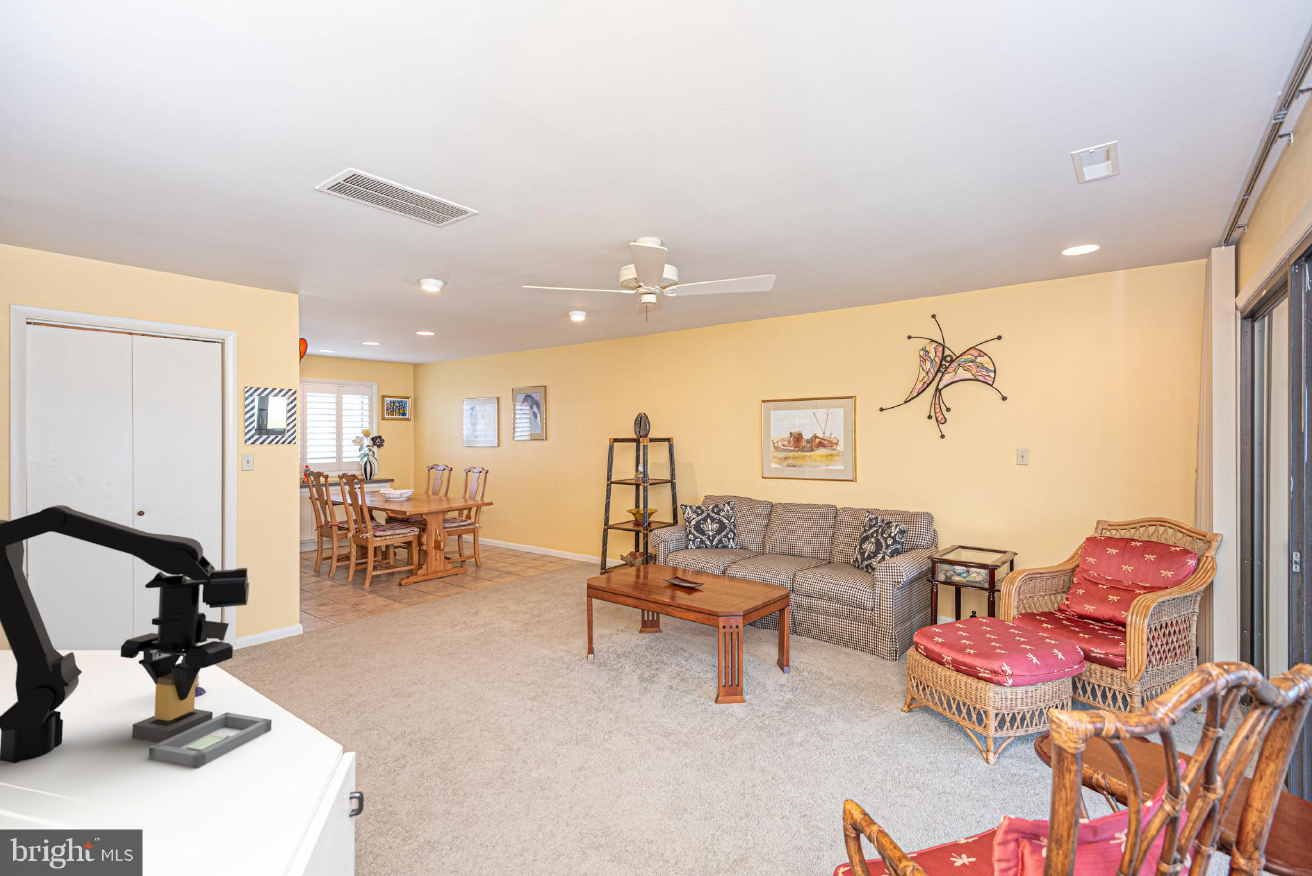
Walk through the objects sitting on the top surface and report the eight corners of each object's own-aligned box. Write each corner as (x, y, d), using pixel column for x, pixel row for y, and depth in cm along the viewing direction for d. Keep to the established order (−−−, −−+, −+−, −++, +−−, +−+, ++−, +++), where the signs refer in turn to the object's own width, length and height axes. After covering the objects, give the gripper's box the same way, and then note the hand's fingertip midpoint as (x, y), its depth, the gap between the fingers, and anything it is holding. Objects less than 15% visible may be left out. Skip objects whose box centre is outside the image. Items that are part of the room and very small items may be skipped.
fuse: (201, 762, 102) (201, 749, 102) (186, 759, 102) (186, 746, 102) (229, 747, 107) (229, 735, 107) (214, 745, 107) (215, 732, 107)
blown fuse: (169, 720, 109) (170, 680, 109) (154, 718, 110) (156, 678, 110) (194, 710, 113) (195, 671, 113) (180, 707, 114) (181, 669, 114)
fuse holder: (168, 748, 107) (169, 730, 107) (132, 741, 108) (132, 724, 108) (211, 728, 114) (212, 711, 114) (177, 722, 116) (177, 706, 116)
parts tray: (197, 772, 99) (198, 756, 100) (148, 762, 102) (149, 747, 102) (271, 733, 113) (271, 719, 113) (225, 726, 115) (226, 712, 115)
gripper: (260, 604, 117) (257, 688, 117) (181, 595, 122) (177, 676, 121) (205, 619, 106) (201, 712, 106) (120, 609, 111) (116, 698, 111)
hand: (175, 698), depth 111 cm, fingers closed on blown fuse, 3 cm apart
